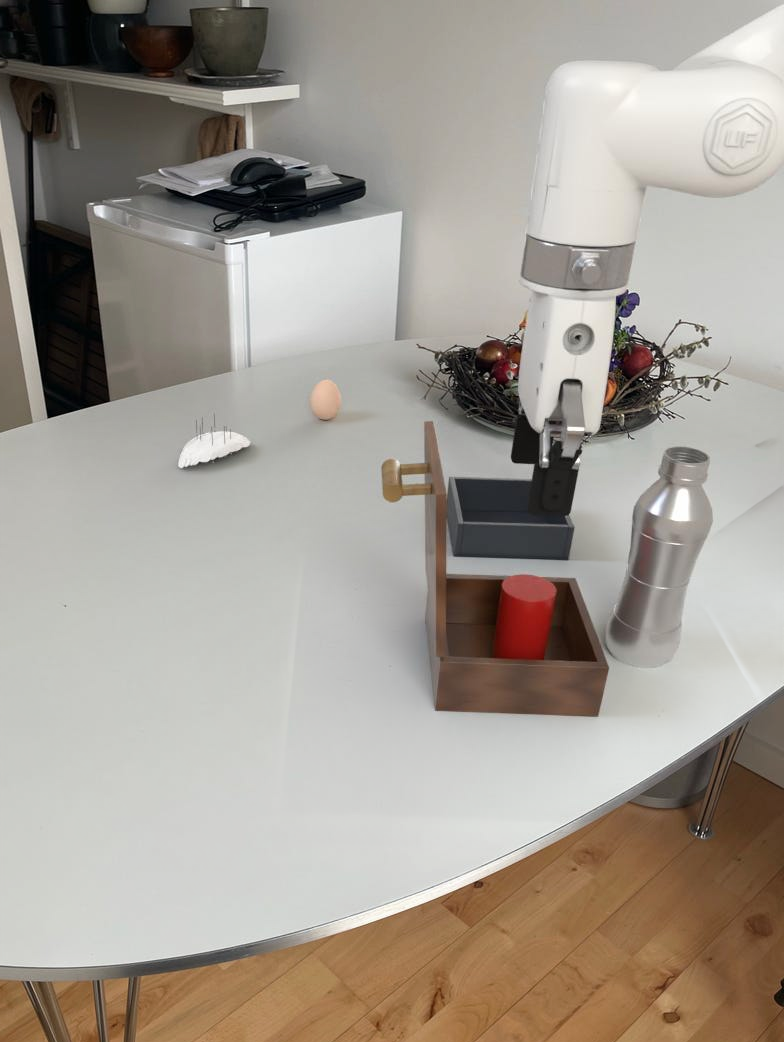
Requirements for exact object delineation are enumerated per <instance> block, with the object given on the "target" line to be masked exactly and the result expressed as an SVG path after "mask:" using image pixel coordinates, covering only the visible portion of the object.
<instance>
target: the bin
mask: <svg viewBox="0 0 784 1042" xmlns="http://www.w3.org/2000/svg"><path fill="white" fill-rule="evenodd" d="M531 482H532V478H512V477H511V478H509V477H508V478H507V477H479V476H478V477H477V476H476V477H475V476H474V477H473V476H449V477H448V483H447V484H448V485H447V492H446V493H447V527H448V534H449V539H450V545H451V551H452V556H453V558H475V559H477V558H479V559H507V560H509V559H510V560H511V559H513V560H539V561H540V560H541V561H542V560H544V561H569V560H570V554H571V548H572V543H573V539H574V538H573V537H574V532H575V525H574V523H573V521H572V518H571V515H570V514H569V515H568V516H548V515H531V514H530V513H529V512H528V509H527V506H528V500H529V494H530V488H531Z"/></svg>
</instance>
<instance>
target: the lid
mask: <svg viewBox="0 0 784 1042" xmlns="http://www.w3.org/2000/svg"><path fill="white" fill-rule="evenodd" d="M423 434H424V436H423V438H424V439H423V441H424V442H423V443H424V445H423V446H424V447H423V448H424V450H423V451H424V456H423V457H424V462H420V463H419V462H418V463H400V462H399V461H398V460H397V459H394V458H388V459H386V460H384V461H383V463H382V464H381V467H380V468H381V470H380V471H381V488H382V497H383V499H384V500H385V501H387V502H389V503H398V501H400V500H401V499H403V497H405V496H407V497H408V496H424V556H425V557H424V559H425V561H424V563H425V564H424V565H425V568H424V570H425V577H426V585H427V592H428V595H429V603H430V612H431V620H432V628H433V637H434V645H435V653H436V657H446V574H447V532H448V531H447V527H448V522H447V493H448V492H447V487H446V483H445V476H444V472H443V466H442V465H443V464H442V460H441V455H440V449H439V444H438V438H437V432H436V428H435V422H434V421H433V420H429V421H427V420H426V421H423ZM408 475H409V476H410V475H424V483H409V484H407V483H406V484H403V476H408Z"/></svg>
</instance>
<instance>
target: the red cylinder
mask: <svg viewBox="0 0 784 1042" xmlns="http://www.w3.org/2000/svg"><path fill="white" fill-rule="evenodd" d="M509 576H510V577H508V578H506V579H505V580H504V581H503V583H502V587H501V594H500V601H499V608H498V615H497V622H496V629H495V636H494V643H493V649H492V656H491V658H496V659H524V660H544V658H545V653H546V647H547V642H548V636H549V630H550V625H551V619H552V614H553V608H554V603H555V597H556V588H555V586H554V585H553V584H552V583H551V582H550V581H548V580H546V579H544V578H542V577H543V576H538V575H533V574H514V575H509Z"/></svg>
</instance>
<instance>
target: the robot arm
mask: <svg viewBox="0 0 784 1042" xmlns="http://www.w3.org/2000/svg"><path fill="white" fill-rule="evenodd" d="M545 89H546V90H545V95H544V99H543V100H544V101H543V105H542V106H543V107H542V115H541V121H540V128H539V137H538V144H537V150H536V158H535V165H534V170H533V171H534V173H533V179H532V186H531V193H530V200H529V206H528V207H529V209H528V216H527V217H528V220H527V223H526V230H525V237H524V245H523V250H522V251H523V252H522V259H521V264H520V272H519V273H520V274H519V281H518V282H519V285H521V286H522V287H523V288H526V289H528V290H530V291H531V295H530V298H529V301H528V302H529V303H528V310H527V316H526V323H525V328H524V334H523V340H522V347H521V353H520V362H519V370H518V381H517V390H518V391H517V392H518V398H519V403H518V414H519V415H516V419H515V424H514V425H515V426H514V432H513V438H512V445H511V452H510V459H511V463H513V464H516V465H517V464H518V465H533V471H532V475H531V479H532V482H531V488H530V494H529V500H528V506H527V509H528V512H529V513H530V514H531V515H548V516H568V515H569V516H570V514H571V512H572V508H573V502H574V497H575V491H576V487H577V481H578V476H579V470H580V467H581V457H582V456H581V455H582V453H583V445H582V441H583V439H584V436H585V434H586V435H587V436H594V435H596V434H597V433H598V432H599V431H600V429H601V428H600V427H601V422H602V417H603V416H602V415H603V411H604V404H605V397H606V391H607V385H608V378H609V371H610V365H611V357H612V349H613V342H614V332H615V323H616V308H617V307H616V306H617V305H616V304H617V297H619V296H621V295H623V294H625V293H626V292H627V289H628V286H629V285H628V284H629V280H630V275H631V271H632V270H631V269H632V264H633V260H634V255H635V249H636V244H637V239H638V234H639V230H640V225H641V218H642V215H643V209H644V205H645V200H646V194H647V189H648V187H650V188H655V189H656V188H657V189H661V190H667V191H673V192H678V193H683V194H687V195H692V196H697V197H703V198H711V199H721V198H722V199H723V198H724V199H725V198H731V197H736V196H741V195H744V194H745V193H749V192H751V191H753V190H754V189H757V188H758V187H760V186H761V185H764V184H765V183H766V182H767V181H769V180H770V179H772V178H773V177H774V176H775V175H776V173H778V172H779V171H780V169H781V168H782V167H783V166H784V2H783V3H782V4H779V5H778V6H775V8H773V9H770V10H769V11H767V12H766V13H764V14H762V15H760V16H758V17H757V18H755V19H752V20H751V21H749V22H748V23H746V24H745V25H742V26H741V27H739V28H738V29H736V30H734V31H733V32H731V33H729V34H727V35H725V36H724V37H722V38H721V39H719V40H717V41H715V42H713V43H712V44H710V45H708V46H706V47H705V48H703V49H701V50H700V51H698V52H697V53H695V54H694V55H692V56H690V57H689V58H687V59H685V60H684V61H683V62H681V63H679V64H678V65H676V67H674V68H672V70H660V69H659V68H658V67H656V66H654V65H652V64H648V63H643V62H637V61H626V60H625V61H624V60H623V61H622V60H599V59H598V60H595V59H588V60H587V59H586V60H585V59H584V60H583V59H582V60H580V59H579V60H574V61H568V62H565V63H563V64H561V65H559V66H558V67H557V68H555V70H554V71H553V72H552V74H551V75H550V77H549V79H548V82H547V84H546V88H545ZM557 422H561V423H557ZM554 438H560V440H555V441H554Z"/></svg>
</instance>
